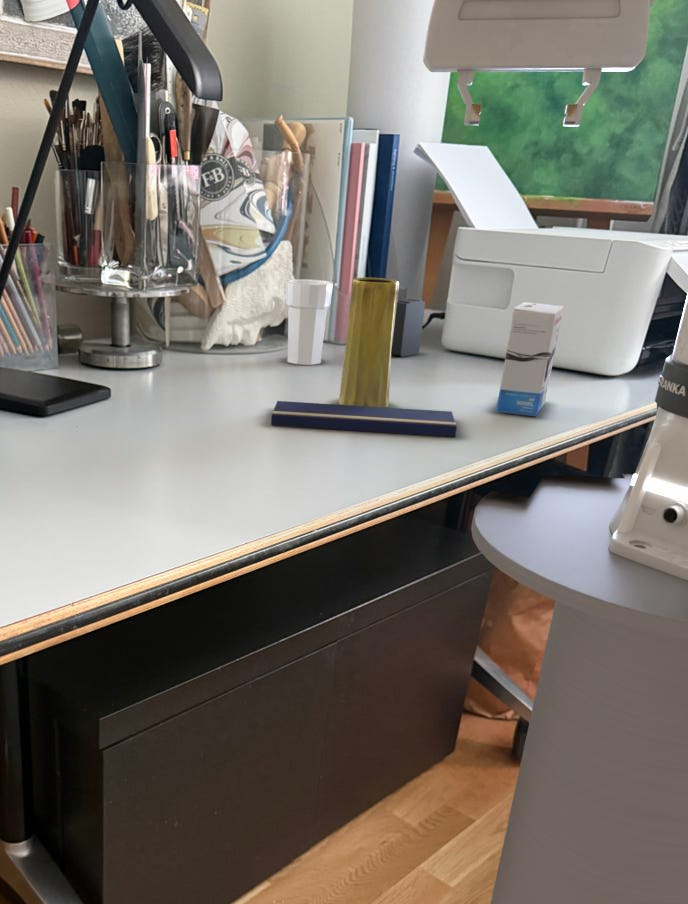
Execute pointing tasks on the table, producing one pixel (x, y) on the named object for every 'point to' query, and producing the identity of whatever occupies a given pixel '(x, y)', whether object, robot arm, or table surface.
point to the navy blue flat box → (364, 418)
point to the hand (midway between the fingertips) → (520, 125)
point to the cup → (307, 319)
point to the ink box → (529, 358)
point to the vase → (369, 343)
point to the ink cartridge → (408, 327)
